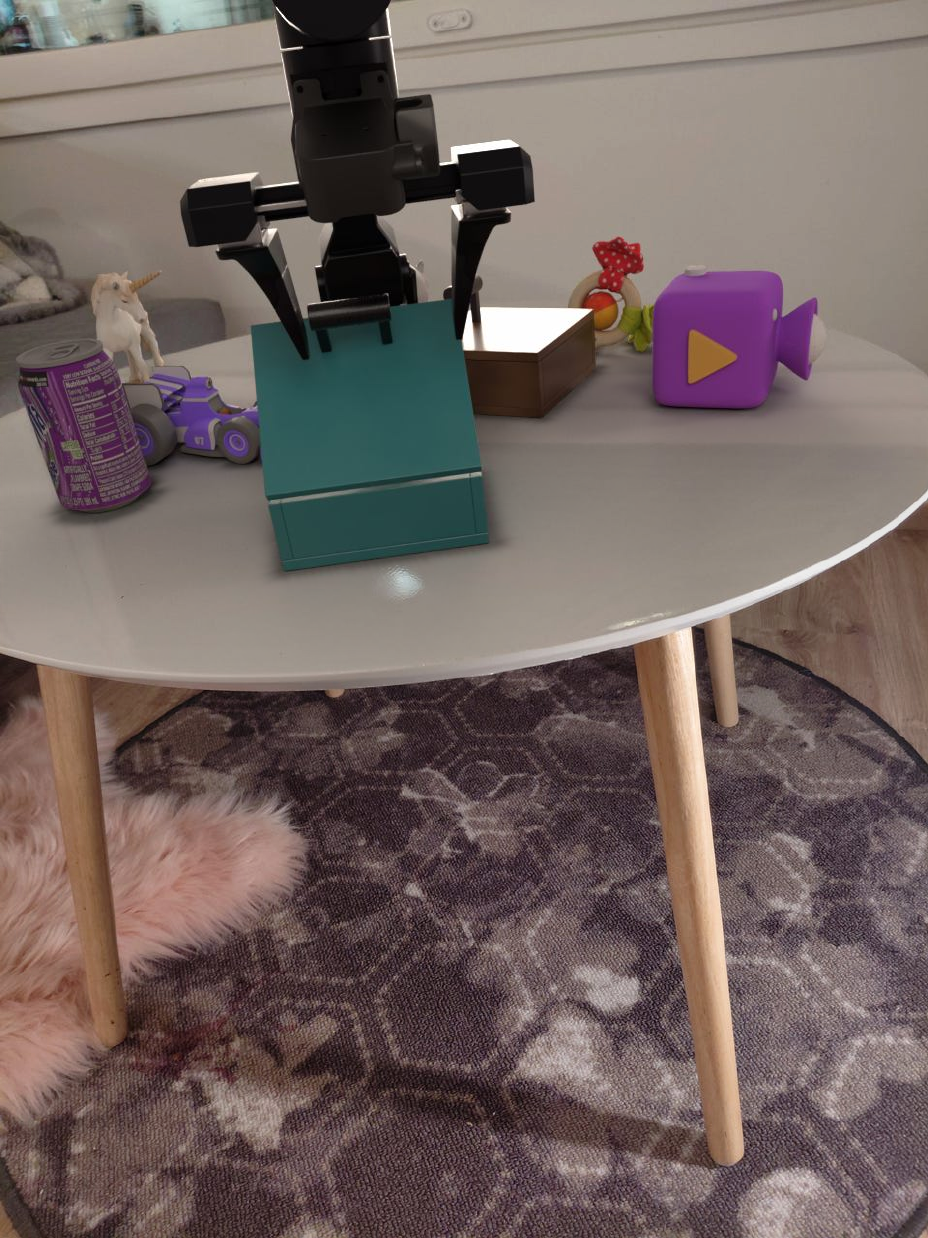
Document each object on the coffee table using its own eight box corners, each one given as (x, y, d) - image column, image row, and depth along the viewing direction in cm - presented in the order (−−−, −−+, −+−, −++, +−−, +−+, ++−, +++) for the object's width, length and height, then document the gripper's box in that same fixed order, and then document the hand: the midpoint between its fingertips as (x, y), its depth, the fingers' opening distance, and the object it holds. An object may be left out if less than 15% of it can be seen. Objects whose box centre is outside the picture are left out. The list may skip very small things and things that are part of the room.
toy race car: (274, 470, 77) (256, 392, 73) (122, 465, 82) (98, 393, 78) (323, 427, 84) (309, 355, 81) (181, 425, 89) (162, 357, 86)
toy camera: (827, 413, 74) (840, 283, 69) (651, 419, 77) (651, 294, 72) (812, 370, 83) (823, 252, 78) (655, 377, 86) (655, 263, 81)
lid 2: (409, 357, 83) (401, 299, 81) (475, 315, 93) (470, 262, 91) (538, 362, 78) (534, 300, 75) (594, 317, 88) (592, 261, 85)
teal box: (294, 499, 71) (281, 439, 69) (472, 475, 72) (465, 415, 69) (283, 571, 61) (267, 505, 59) (489, 543, 62) (482, 475, 59)
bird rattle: (595, 381, 94) (680, 337, 91) (543, 279, 89) (631, 230, 86) (594, 362, 99) (674, 321, 96) (545, 265, 94) (628, 218, 91)
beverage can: (76, 487, 78) (26, 343, 72) (161, 476, 78) (118, 331, 72) (51, 524, 72) (-6, 370, 66) (143, 512, 72) (95, 357, 66)
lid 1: (253, 332, 63) (234, 284, 58) (455, 305, 63) (452, 255, 58) (267, 501, 59) (248, 465, 54) (481, 471, 59) (481, 433, 55)
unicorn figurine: (126, 429, 90) (81, 285, 83) (98, 382, 105) (59, 257, 98) (199, 411, 92) (162, 270, 85) (162, 367, 108) (128, 245, 101)
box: (424, 410, 85) (417, 358, 83) (487, 363, 95) (483, 316, 93) (541, 418, 80) (538, 362, 78) (596, 368, 90) (594, 317, 88)
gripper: (118, 69, 41) (207, 412, 49) (540, 16, 41) (559, 366, 49) (166, 66, 51) (234, 354, 59) (509, 23, 51) (529, 315, 59)
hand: (382, 348), depth 56 cm, fingers open, 9 cm apart
